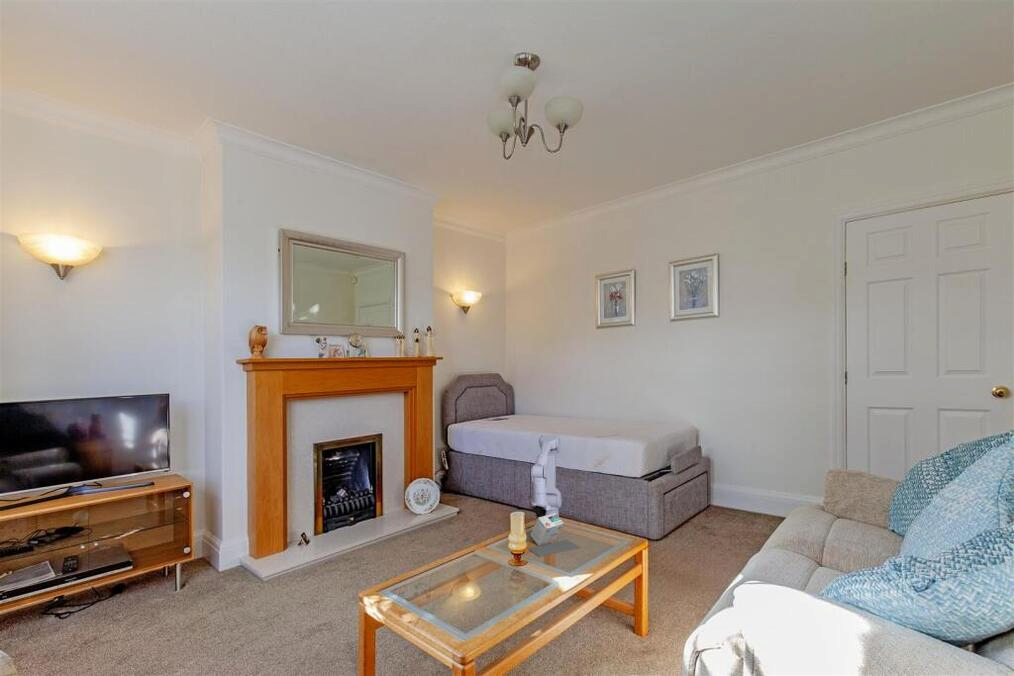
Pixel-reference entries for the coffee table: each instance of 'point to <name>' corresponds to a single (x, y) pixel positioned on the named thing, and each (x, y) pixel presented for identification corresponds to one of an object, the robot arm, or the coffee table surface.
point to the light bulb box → (546, 528)
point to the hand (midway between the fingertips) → (541, 523)
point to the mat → (553, 548)
